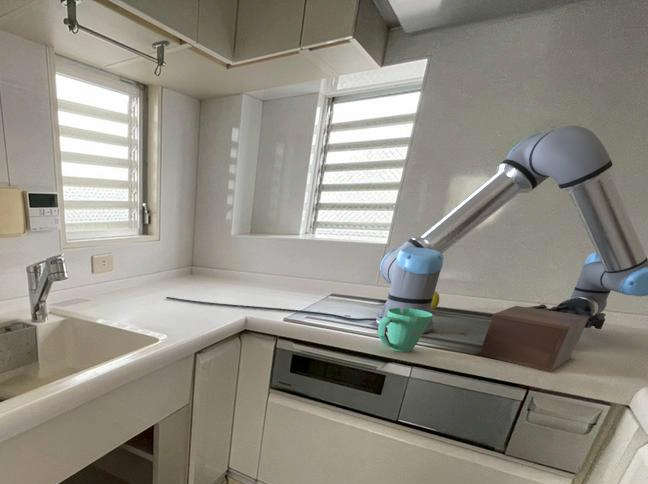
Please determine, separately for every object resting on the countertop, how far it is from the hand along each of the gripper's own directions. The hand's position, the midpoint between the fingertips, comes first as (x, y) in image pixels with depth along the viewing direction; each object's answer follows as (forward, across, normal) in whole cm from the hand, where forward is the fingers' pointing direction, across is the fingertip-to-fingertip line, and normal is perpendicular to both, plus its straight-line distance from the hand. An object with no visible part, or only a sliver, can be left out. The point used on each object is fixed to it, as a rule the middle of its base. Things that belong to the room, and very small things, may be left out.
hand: (551, 321), depth 106 cm
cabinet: (+14, 0, -7) cm, 16 cm away
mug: (+36, +21, -7) cm, 42 cm away
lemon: (-17, +36, -7) cm, 41 cm away
